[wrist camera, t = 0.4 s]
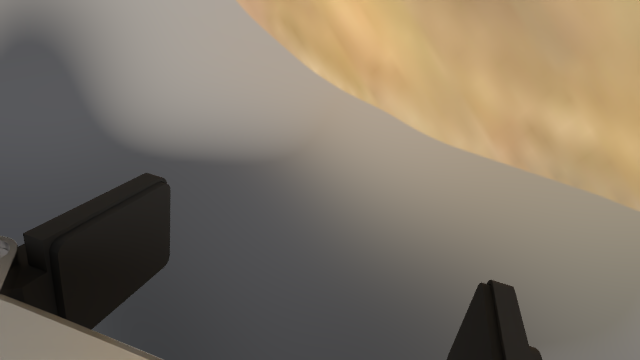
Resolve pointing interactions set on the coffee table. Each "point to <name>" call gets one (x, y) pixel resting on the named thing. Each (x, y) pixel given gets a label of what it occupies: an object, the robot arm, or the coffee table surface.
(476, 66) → the coffee table surface
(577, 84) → the coffee table surface
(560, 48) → the coffee table surface
